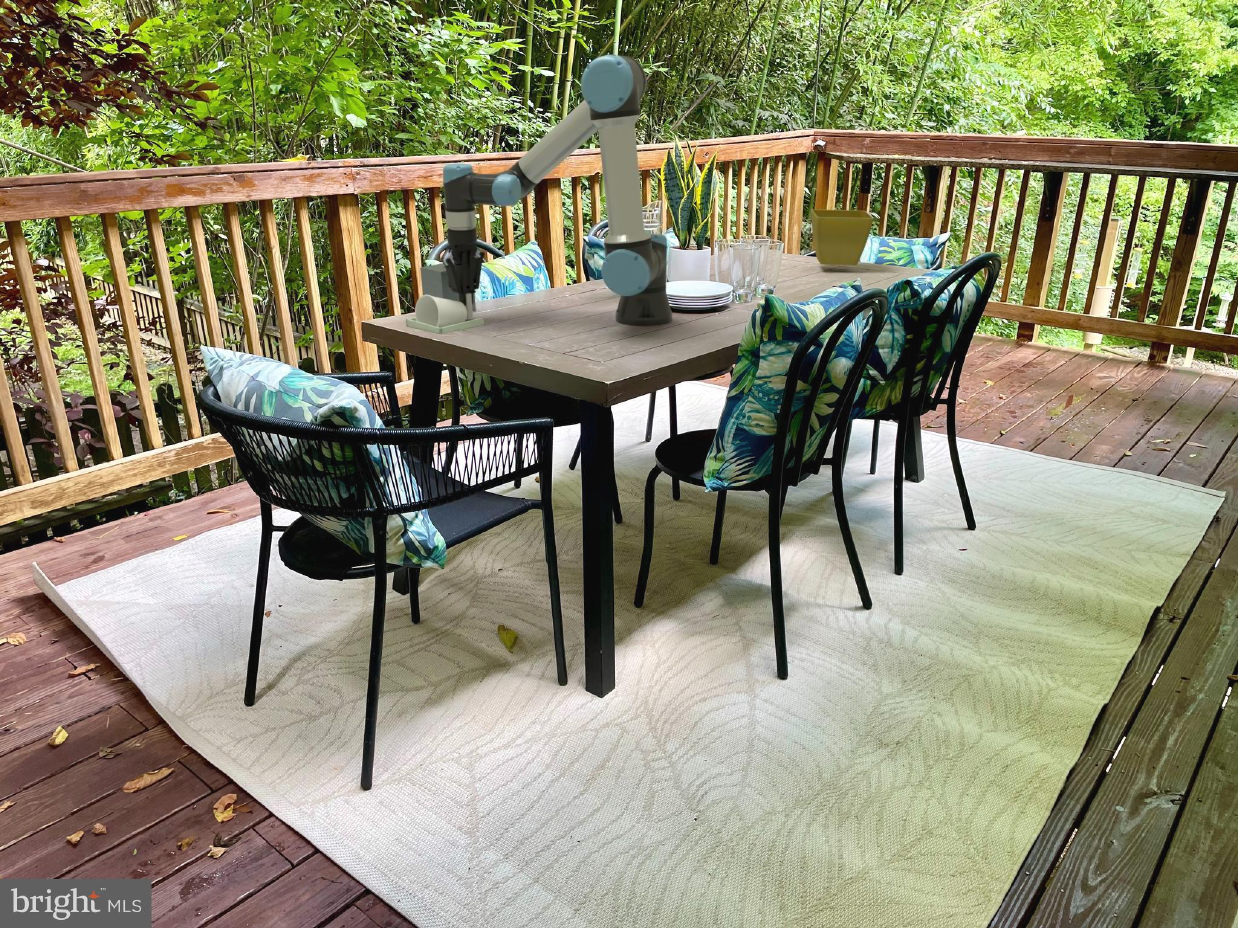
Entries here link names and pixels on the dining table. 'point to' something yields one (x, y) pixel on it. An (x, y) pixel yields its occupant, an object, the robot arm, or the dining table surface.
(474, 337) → the dining table surface
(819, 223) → the flower pot
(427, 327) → the corral
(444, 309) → the cup
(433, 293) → the box
